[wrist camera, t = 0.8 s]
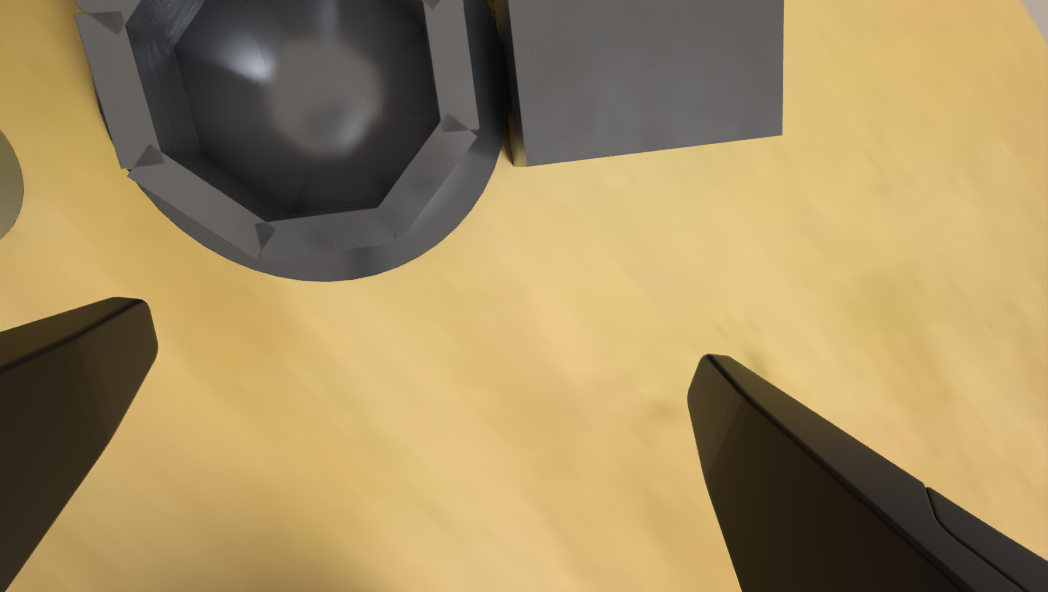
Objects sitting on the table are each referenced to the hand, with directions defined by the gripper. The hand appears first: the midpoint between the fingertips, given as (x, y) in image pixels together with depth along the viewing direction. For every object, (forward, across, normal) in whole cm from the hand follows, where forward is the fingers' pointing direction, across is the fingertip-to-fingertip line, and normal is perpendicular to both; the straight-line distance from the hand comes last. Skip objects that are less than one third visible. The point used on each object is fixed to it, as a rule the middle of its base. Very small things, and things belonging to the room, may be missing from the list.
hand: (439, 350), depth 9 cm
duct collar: (+15, +1, -2) cm, 15 cm away
